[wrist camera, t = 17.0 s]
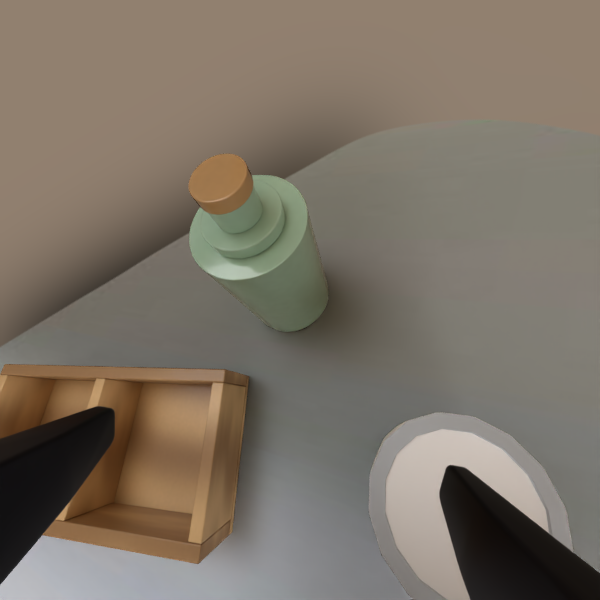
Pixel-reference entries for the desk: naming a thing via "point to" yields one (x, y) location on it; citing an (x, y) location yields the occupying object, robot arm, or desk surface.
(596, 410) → the desk surface
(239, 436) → the crate
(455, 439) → the shot glass
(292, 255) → the bottle
